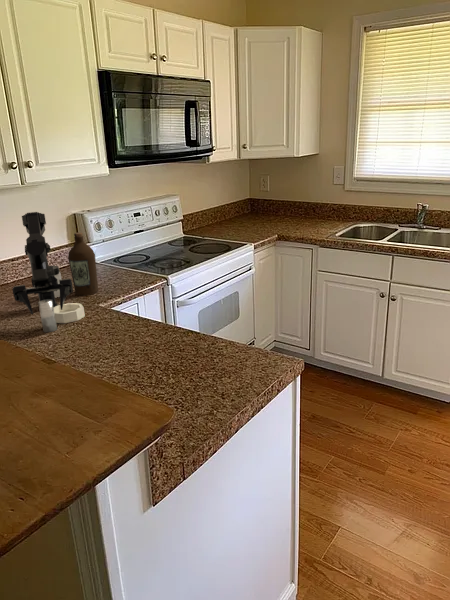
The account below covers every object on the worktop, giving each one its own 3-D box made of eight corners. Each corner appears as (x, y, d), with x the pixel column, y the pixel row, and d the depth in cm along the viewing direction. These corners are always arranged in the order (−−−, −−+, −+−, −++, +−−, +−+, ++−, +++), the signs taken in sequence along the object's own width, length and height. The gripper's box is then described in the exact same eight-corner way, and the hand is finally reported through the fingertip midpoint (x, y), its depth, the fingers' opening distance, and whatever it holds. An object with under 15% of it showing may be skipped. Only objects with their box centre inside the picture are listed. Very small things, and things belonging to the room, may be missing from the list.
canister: (42, 329, 161) (37, 300, 158) (56, 326, 163) (51, 298, 160) (44, 333, 158) (39, 303, 154) (58, 330, 159) (53, 301, 156)
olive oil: (79, 289, 206) (70, 231, 198) (103, 288, 205) (95, 230, 197) (70, 296, 196) (60, 236, 188) (95, 295, 195) (86, 235, 187)
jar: (44, 300, 193) (39, 271, 189) (39, 296, 199) (34, 268, 196) (66, 295, 197) (62, 267, 194) (61, 291, 204) (56, 264, 200)
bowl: (49, 316, 173) (47, 307, 172) (80, 310, 178) (78, 301, 177) (54, 325, 164) (53, 315, 163) (86, 318, 169) (85, 309, 168)
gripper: (7, 262, 154) (12, 304, 148) (67, 255, 160) (75, 295, 154) (12, 280, 164) (18, 320, 157) (69, 272, 170) (76, 311, 163)
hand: (47, 311), depth 158 cm, fingers open, 9 cm apart
